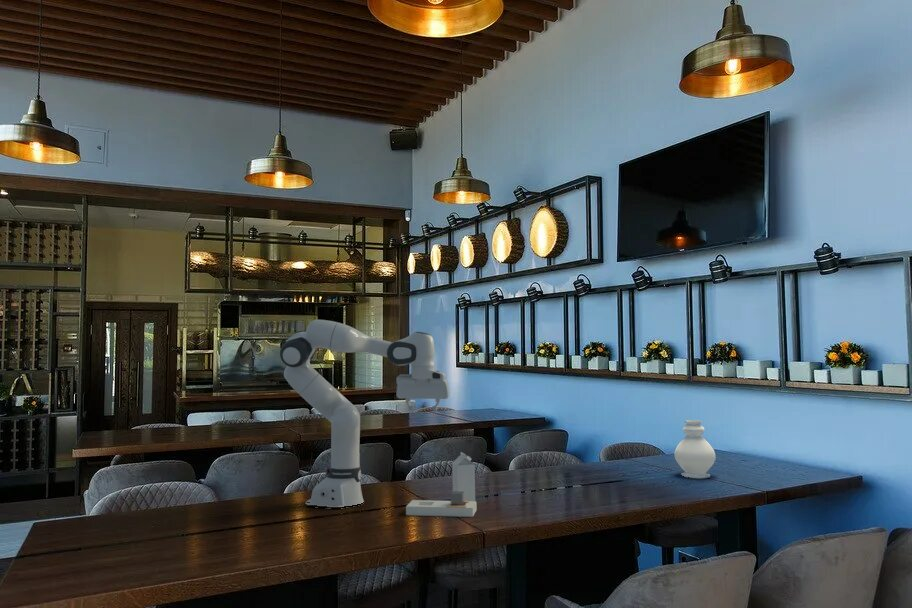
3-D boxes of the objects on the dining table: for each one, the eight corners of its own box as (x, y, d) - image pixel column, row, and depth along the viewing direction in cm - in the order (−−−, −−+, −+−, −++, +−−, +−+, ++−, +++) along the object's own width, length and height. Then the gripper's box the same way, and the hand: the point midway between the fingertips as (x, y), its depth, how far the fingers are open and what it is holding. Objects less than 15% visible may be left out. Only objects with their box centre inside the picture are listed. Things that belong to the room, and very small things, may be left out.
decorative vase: (667, 473, 309) (665, 419, 311) (699, 471, 314) (697, 418, 316) (691, 480, 292) (689, 423, 294) (725, 477, 297) (722, 421, 299)
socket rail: (406, 517, 235) (406, 505, 235) (412, 511, 245) (412, 499, 245) (472, 519, 231) (472, 507, 232) (476, 512, 241) (476, 500, 241)
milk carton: (457, 505, 253) (456, 455, 254) (452, 501, 259) (452, 452, 261) (475, 504, 254) (474, 454, 256) (470, 500, 261) (469, 451, 263)
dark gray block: (451, 513, 236) (451, 493, 236) (453, 510, 240) (453, 491, 240) (462, 513, 235) (462, 493, 235) (464, 511, 239) (463, 491, 239)
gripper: (394, 374, 251) (394, 411, 250) (447, 374, 248) (447, 411, 247) (398, 373, 258) (398, 409, 257) (450, 374, 254) (450, 410, 253)
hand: (422, 410), depth 252 cm, fingers open, 8 cm apart
